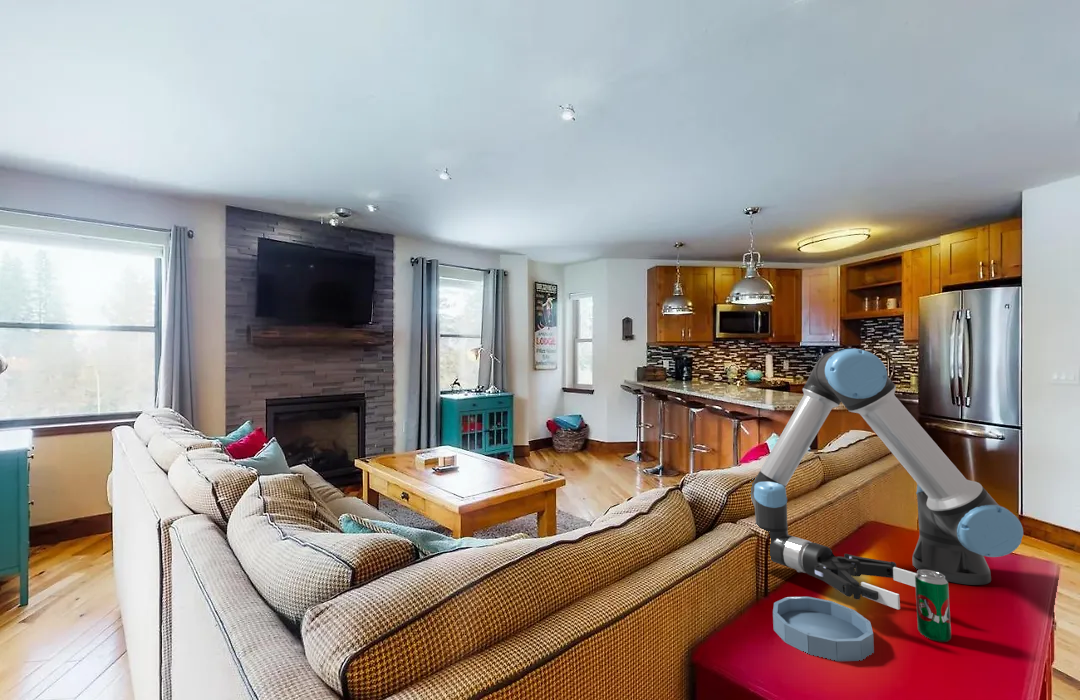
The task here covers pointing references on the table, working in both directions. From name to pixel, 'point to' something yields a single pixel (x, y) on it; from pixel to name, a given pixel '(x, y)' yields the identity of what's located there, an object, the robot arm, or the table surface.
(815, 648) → the bowl
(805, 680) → the table surface
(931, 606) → the soda can
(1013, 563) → the table surface
